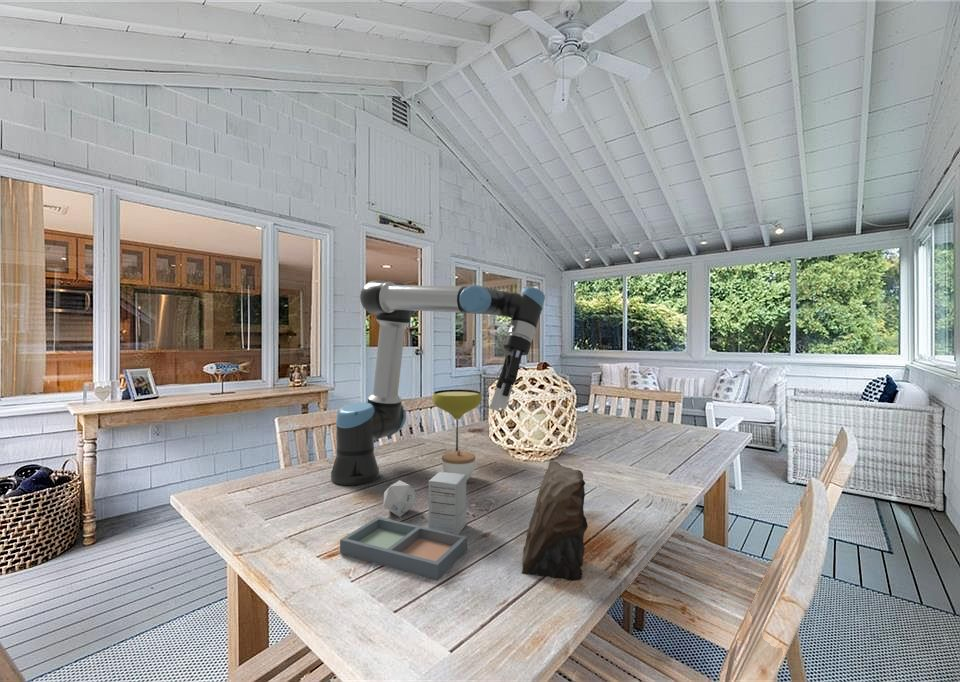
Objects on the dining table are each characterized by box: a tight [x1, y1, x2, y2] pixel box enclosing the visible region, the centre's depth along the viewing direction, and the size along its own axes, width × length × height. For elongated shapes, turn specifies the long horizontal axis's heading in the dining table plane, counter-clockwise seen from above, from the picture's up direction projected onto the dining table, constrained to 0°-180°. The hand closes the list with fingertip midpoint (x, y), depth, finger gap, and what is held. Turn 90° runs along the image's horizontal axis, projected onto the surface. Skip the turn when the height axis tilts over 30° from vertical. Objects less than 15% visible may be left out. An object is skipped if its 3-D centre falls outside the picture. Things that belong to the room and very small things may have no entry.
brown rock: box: [521, 460, 589, 582], centre depth 91 cm, size 13×13×20 cm
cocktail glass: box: [432, 389, 482, 452], centre depth 166 cm, size 18×18×25 cm
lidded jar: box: [441, 449, 476, 482], centre depth 144 cm, size 11×11×9 cm
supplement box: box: [428, 471, 467, 535], centre depth 108 cm, size 7×7×13 cm
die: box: [382, 479, 417, 518], centre depth 117 cm, size 8×9×10 cm
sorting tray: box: [339, 516, 468, 581], centre depth 96 cm, size 24×13×3 cm, turn 66°
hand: (497, 409), depth 125 cm, fingers open, 13 cm apart
